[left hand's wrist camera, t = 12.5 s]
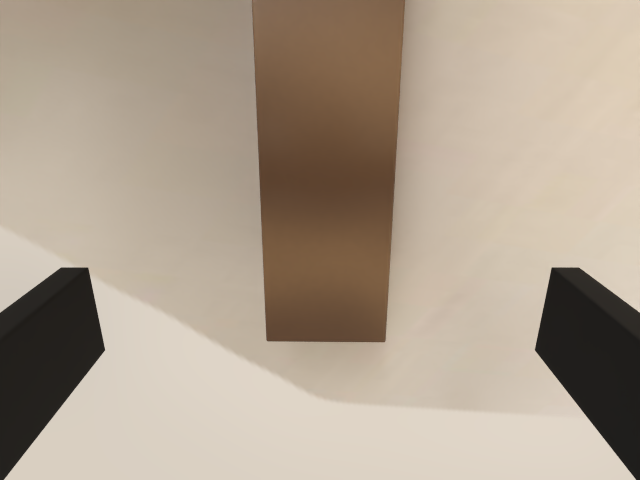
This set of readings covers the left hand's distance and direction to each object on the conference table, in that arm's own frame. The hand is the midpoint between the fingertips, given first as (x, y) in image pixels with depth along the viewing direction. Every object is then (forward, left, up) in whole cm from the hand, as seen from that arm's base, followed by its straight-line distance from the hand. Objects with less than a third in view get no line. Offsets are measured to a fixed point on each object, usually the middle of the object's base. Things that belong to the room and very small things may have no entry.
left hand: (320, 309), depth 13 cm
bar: (+10, +30, -15) cm, 35 cm away
